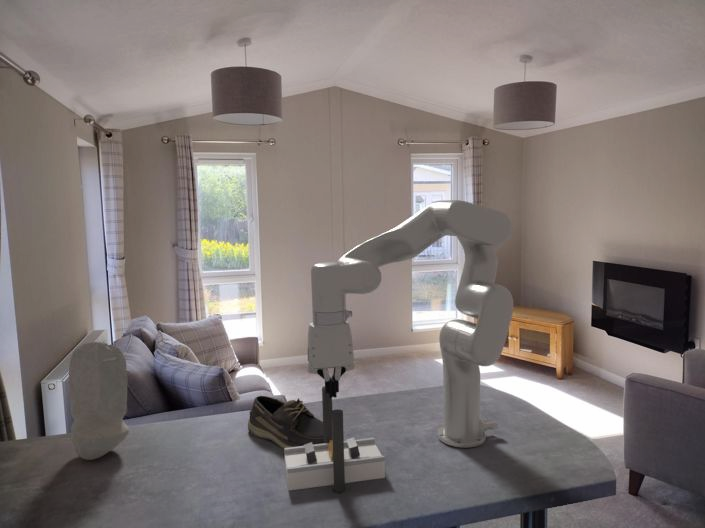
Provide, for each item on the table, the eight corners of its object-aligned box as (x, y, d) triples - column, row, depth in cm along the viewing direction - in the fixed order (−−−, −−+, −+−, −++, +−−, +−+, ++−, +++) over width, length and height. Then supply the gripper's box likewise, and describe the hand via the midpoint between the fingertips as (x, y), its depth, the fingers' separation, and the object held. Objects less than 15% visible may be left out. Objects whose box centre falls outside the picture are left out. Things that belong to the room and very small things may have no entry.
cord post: (343, 486, 113) (341, 408, 111) (345, 492, 111) (343, 413, 109) (333, 488, 113) (330, 410, 111) (335, 493, 110) (332, 414, 108)
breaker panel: (374, 456, 126) (373, 437, 126) (384, 477, 116) (384, 457, 116) (285, 467, 122) (284, 448, 121) (288, 490, 112) (287, 469, 111)
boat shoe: (323, 463, 124) (322, 421, 123) (235, 436, 139) (233, 399, 138) (347, 444, 133) (346, 405, 132) (262, 421, 149) (260, 386, 147)
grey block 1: (314, 451, 120) (312, 442, 120) (317, 460, 116) (314, 450, 115) (306, 454, 120) (303, 444, 119) (308, 463, 115) (305, 453, 115)
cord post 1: (332, 454, 128) (330, 385, 126) (334, 459, 125) (332, 388, 123) (323, 455, 127) (321, 386, 125) (324, 460, 125) (322, 389, 123)
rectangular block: (336, 450, 121) (338, 440, 121) (339, 459, 117) (341, 449, 116) (328, 450, 121) (329, 440, 120) (331, 459, 116) (333, 448, 116)
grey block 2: (356, 446, 122) (353, 437, 121) (360, 455, 118) (357, 445, 117) (348, 449, 122) (345, 439, 121) (351, 458, 117) (349, 448, 117)
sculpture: (62, 471, 123) (51, 350, 119) (77, 448, 134) (67, 337, 131) (129, 463, 126) (120, 345, 122) (138, 441, 137) (130, 333, 134)
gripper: (358, 311, 120) (360, 386, 122) (294, 316, 117) (298, 393, 119) (365, 318, 113) (367, 398, 115) (297, 323, 110) (301, 405, 112)
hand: (332, 395), depth 117 cm, fingers closed
